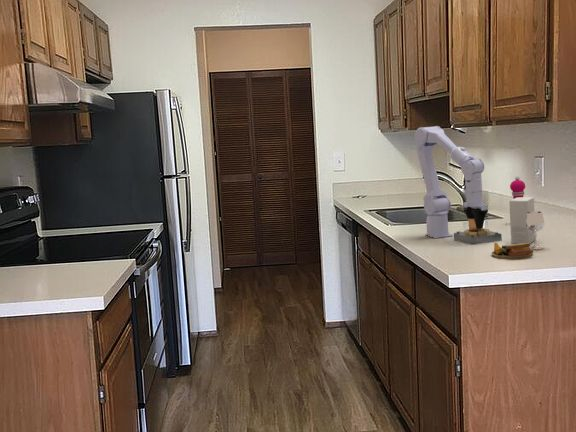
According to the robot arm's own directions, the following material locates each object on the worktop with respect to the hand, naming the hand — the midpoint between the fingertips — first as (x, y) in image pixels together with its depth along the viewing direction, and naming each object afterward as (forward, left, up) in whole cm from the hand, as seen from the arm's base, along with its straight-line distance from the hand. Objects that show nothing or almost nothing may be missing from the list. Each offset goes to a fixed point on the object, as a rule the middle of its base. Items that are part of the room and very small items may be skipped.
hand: (476, 227), depth 224 cm
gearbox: (-2, 0, -5) cm, 5 cm away
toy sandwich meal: (+33, -5, -5) cm, 34 cm away
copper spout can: (0, -1, -2) cm, 2 cm away
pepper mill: (-24, +32, -5) cm, 40 cm away
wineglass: (+27, +7, -5) cm, 28 cm away
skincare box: (+15, +10, -5) cm, 19 cm away
